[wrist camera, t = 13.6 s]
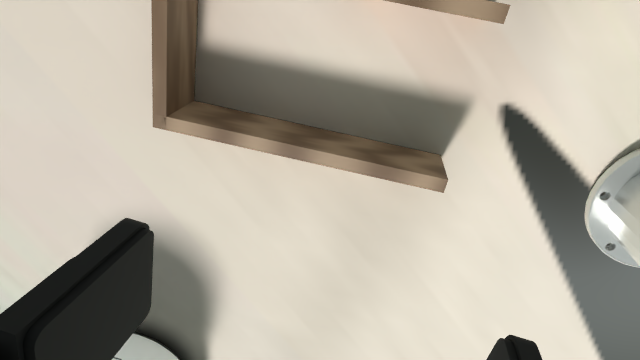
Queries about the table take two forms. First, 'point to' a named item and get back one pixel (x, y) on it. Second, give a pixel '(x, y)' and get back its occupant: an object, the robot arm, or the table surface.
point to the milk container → (144, 349)
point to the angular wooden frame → (273, 134)
